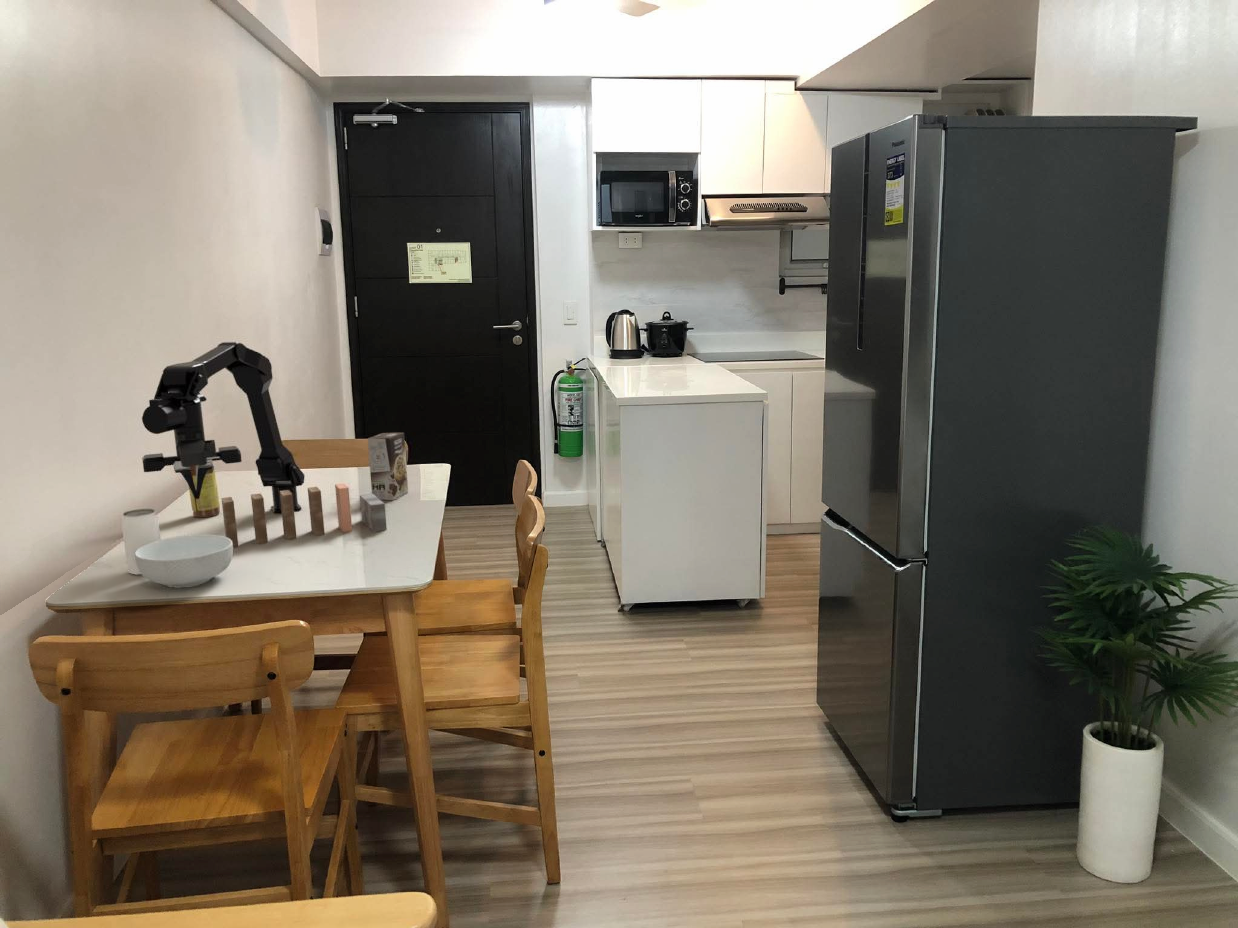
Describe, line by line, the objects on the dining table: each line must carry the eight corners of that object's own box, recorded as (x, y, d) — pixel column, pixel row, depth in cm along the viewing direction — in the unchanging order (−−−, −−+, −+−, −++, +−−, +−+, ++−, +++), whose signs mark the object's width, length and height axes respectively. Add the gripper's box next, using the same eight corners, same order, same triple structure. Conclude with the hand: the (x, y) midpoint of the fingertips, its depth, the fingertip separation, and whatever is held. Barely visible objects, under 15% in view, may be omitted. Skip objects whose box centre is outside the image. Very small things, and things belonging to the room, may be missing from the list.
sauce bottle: (226, 512, 236) (217, 433, 232) (207, 519, 230) (198, 437, 226) (204, 511, 238) (195, 432, 234) (186, 517, 233) (176, 436, 229)
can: (136, 566, 193) (128, 508, 191) (169, 565, 194) (162, 507, 192) (122, 576, 187) (114, 517, 185) (156, 574, 188) (149, 515, 185)
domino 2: (258, 544, 208) (253, 499, 206) (255, 538, 212) (250, 494, 210) (268, 542, 209) (263, 497, 207) (265, 537, 213) (260, 493, 211)
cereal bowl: (136, 601, 172) (131, 564, 171) (141, 576, 187) (136, 541, 186) (237, 587, 179) (233, 550, 178) (234, 563, 194) (230, 529, 192)
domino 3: (287, 539, 210) (282, 495, 208) (283, 534, 215) (279, 491, 213) (296, 538, 211) (292, 494, 209) (293, 533, 216) (288, 489, 214)
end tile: (343, 532, 215) (339, 488, 213) (338, 527, 220) (335, 484, 218) (352, 530, 216) (348, 487, 214) (347, 525, 221) (343, 483, 219)
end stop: (361, 519, 226) (359, 495, 224) (374, 518, 227) (372, 493, 226) (373, 531, 215) (371, 505, 214) (386, 529, 216) (384, 503, 215)
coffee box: (394, 500, 244) (390, 438, 241) (371, 500, 246) (366, 437, 242) (409, 492, 253) (405, 432, 250) (386, 491, 254) (382, 431, 251)
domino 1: (228, 548, 205) (223, 502, 203) (226, 542, 209) (221, 498, 207) (238, 546, 206) (233, 501, 204) (236, 541, 210) (231, 496, 208)
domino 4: (315, 535, 213) (311, 491, 211) (311, 530, 217) (307, 487, 215) (324, 534, 214) (320, 490, 212) (320, 529, 218) (316, 486, 216)
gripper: (139, 435, 189) (149, 512, 192) (240, 426, 197) (248, 500, 200) (138, 428, 198) (147, 501, 202) (234, 419, 207) (242, 490, 210)
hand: (197, 498), depth 203 cm, fingers closed
